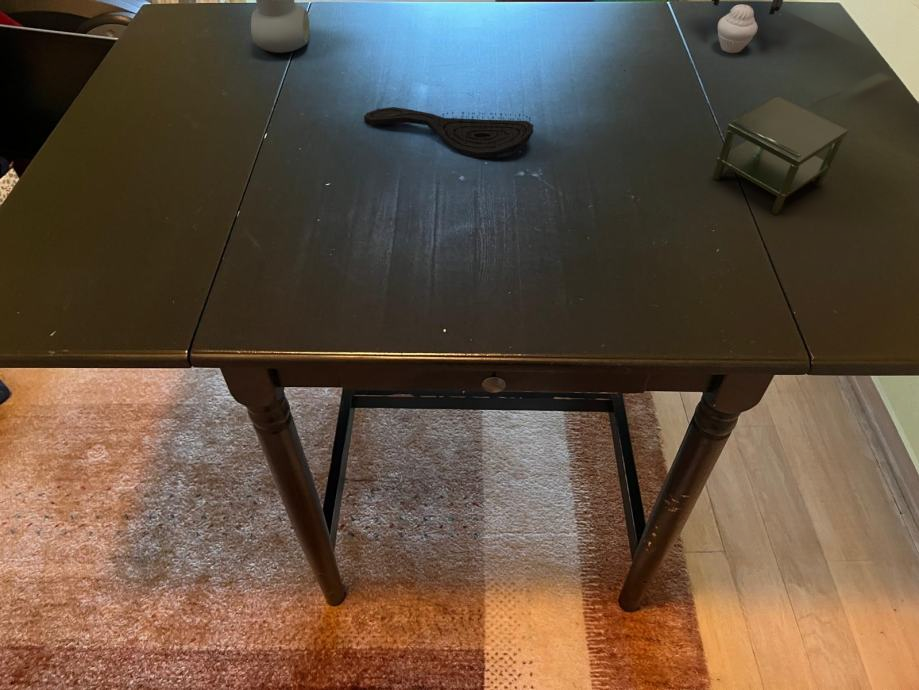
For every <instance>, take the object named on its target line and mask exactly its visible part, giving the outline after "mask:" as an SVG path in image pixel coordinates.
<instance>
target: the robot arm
mask: <svg viewBox="0 0 919 690" xmlns="http://www.w3.org/2000/svg"><path fill="white" fill-rule="evenodd" d="M783 1H784V0H772V2H771V5H770V8H769V12H768V14H769V15H774V14H775V12H779V11H780V9H781V7H782V6H783ZM711 2H713V6H714V7H715V6H716V7H718V6H719V3H720V0H711Z"/></svg>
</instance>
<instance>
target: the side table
mask: <svg viewBox="0 0 919 690" xmlns="http://www.w3.org/2000/svg"><path fill="white" fill-rule="evenodd" d="M726 130H727V132H726V135H725V139H724V141H723V145H722V148H721V150H720V154H719V156H718V157H717V159H716V165H715V168H714V172H713V175H712V179H713V180H715V181H721V178H722V176H723V172H724V170H725V168H727V169H728V170H730V171H732V172H734V173H736V174H737V175H739V176H741V177H743V178H744V179H746V180H748V181H749V182H751V183H753V184H755V185H756V186H758V187H760V188H762V189H764V190H765V191H767V192H769V193H771V194H772V195H774V196H776V198H775V199H774V202H773V204H772V207H771V209H770V213H771V214H772V215H774V216H775V215H776V216H777V215H779V214H780V212H781V209H782V208H783V205H784V203H785V201H786V198H787V197H790V195H792V194H794V193H795V192H796V191H798V190H800V189H801V188H802V187H804V186H806V185H807V184H809V183H810V182H812V184H813V186H815V187H821V186H822V184H823V182H824V180H825V178H826V176H827V174H828V172H829V170H830V169H831V168H832V163H833V161H834V159H835V158H836V155H837V153H838V151H839V148H840V147H841V145H842V142H843V140H844V138H845V137H847V134H848V132H849V130H848V129H846V128H844V127H843V126H841V125H838V124H836V123H834V122H832V121H830V120H828V119H826V118H823V117H821V116H819V115H818V114H815V113H814V112H811V111H809V110H807V109H805V108H803V107H801V106H799V105H797V104H795V103H793V102H790V101H789V100H786V99H785V98H782V97H781V96H776V97H774V98H773V99H771V100H769V101H767V102H765V103H763V104H761V105H760V106H759V107H756V108H755V109H753V110H751V111H749V112H748V113H746V114H744V115H742V116H741V117H739V118H737V119H732V121H731V122H730V123H729V124H728V125H727V129H726ZM736 136H737V137H738V136H739V137H740V138H742V139H744V140H746V141H744V142H742V143H741V144H739V145H737V146H735V147H733V148H732V146H733V143H734V140H735V138H736ZM827 148H828V150H827V152H826V154H825V156H824V159H822V158H821V157H818V156H816V155H818V154H821V152H823V151H824V150H826V149H827Z"/></svg>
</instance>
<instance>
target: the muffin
mask: <svg viewBox="0 0 919 690" xmlns="http://www.w3.org/2000/svg"><path fill="white" fill-rule="evenodd" d="M754 13H755V12H754V8H752V7H751V6H750V5H748V4H737V5H734V6H732V8H731V9H730V11H729V12H728V13H727V14H726V15H724V16H723V17H721V18H720V19H719V21H718V23H717V37H718V42H719V45H720V48H721V50H722V51H724V52H726V53H729V54H737V53H738V54H739V53H740V52H741V51H743V50H744V48H745V47H746V46H747V45H748V44H749V43H751V41H752V40H753V39H754V36H755V35H756V34H757V32H758V27H759V26H758V23H757V21H755V17H754Z"/></svg>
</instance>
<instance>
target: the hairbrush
mask: <svg viewBox="0 0 919 690" xmlns="http://www.w3.org/2000/svg"><path fill="white" fill-rule="evenodd" d="M451 113H452V115H451V116H452V117H445V113H442V114H441V115H442V116H440V115H436V114H433V113H430V112H425V111H424V112H423V111H421V110H415V109H409V108H402V107H396V106H392V107H384V108H377V109H374V110H371V111H368V112H366V113H365V114H364V115H363V119H364V123H366V124H369V125H371V126H373V125H374V126H377V125H390V124H393V125H394V124H402V123H403V124H404V123H406V124H414V125H422V126H427V127H428V128H429V129H430V130H431V131H432V132H433V133H434V134H435V135H436V136H437V137H438V138H439V139H440V140H441V141H442V142H443V144H444V145H446V147H448V148H449V149H451V150H453V151H455V152H457V153H459V154H460V155H463V156H467V157H473V158H479V159H480V158H496V157H498V156H502V155H505V154H508V153H510V152H513V151H516V150H517V149H518V148H520V147H521V146H523V145H524V144H525V143H527V142H529V140H530V138H531V137H532V135H533V134H534V132H535V131H534V124H532V123H531V117H530V116H527V115H525V114H523V117H524V116H525V118H526V119H529V120H525V119H523V120H522V119H521V118H519V117H518V118H516V117H517V114H514V116H515V118H516V120H514V118H512V117H511V116H512V113H510V114H509V115H510V117H508V118H507V117H503V113H501V112H500V113H499V116H500V117H499V116H498V119H495V116H496V115H497V112H496V113H495V114H494V116H491V119H489V117H490V116H487V119H484V116H480V115H483V114H484V113H483V112H482V113H481V112H479V113H478V114H479V116H478V115H477V116H476V118H474V116H471V118H469V117H468V116H467V115H466V116H465V118H464V113H465V112H464V111H462V112H461V114H462V115H461V116H460V118H459V117H458V118H457V117H454V116H453V115H454V111H452V112H451ZM448 114H449V113H448V111H446V115H448ZM471 114H472V115H475V114H476V113H475V112H472V113H471ZM468 115H470V112H468ZM489 115H493V112H490V113H489ZM504 115H505V116H507V114H506V113H505V114H504ZM518 116H521V113H519V114H518ZM480 117H481V119H480ZM506 118H507V119H506Z"/></svg>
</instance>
